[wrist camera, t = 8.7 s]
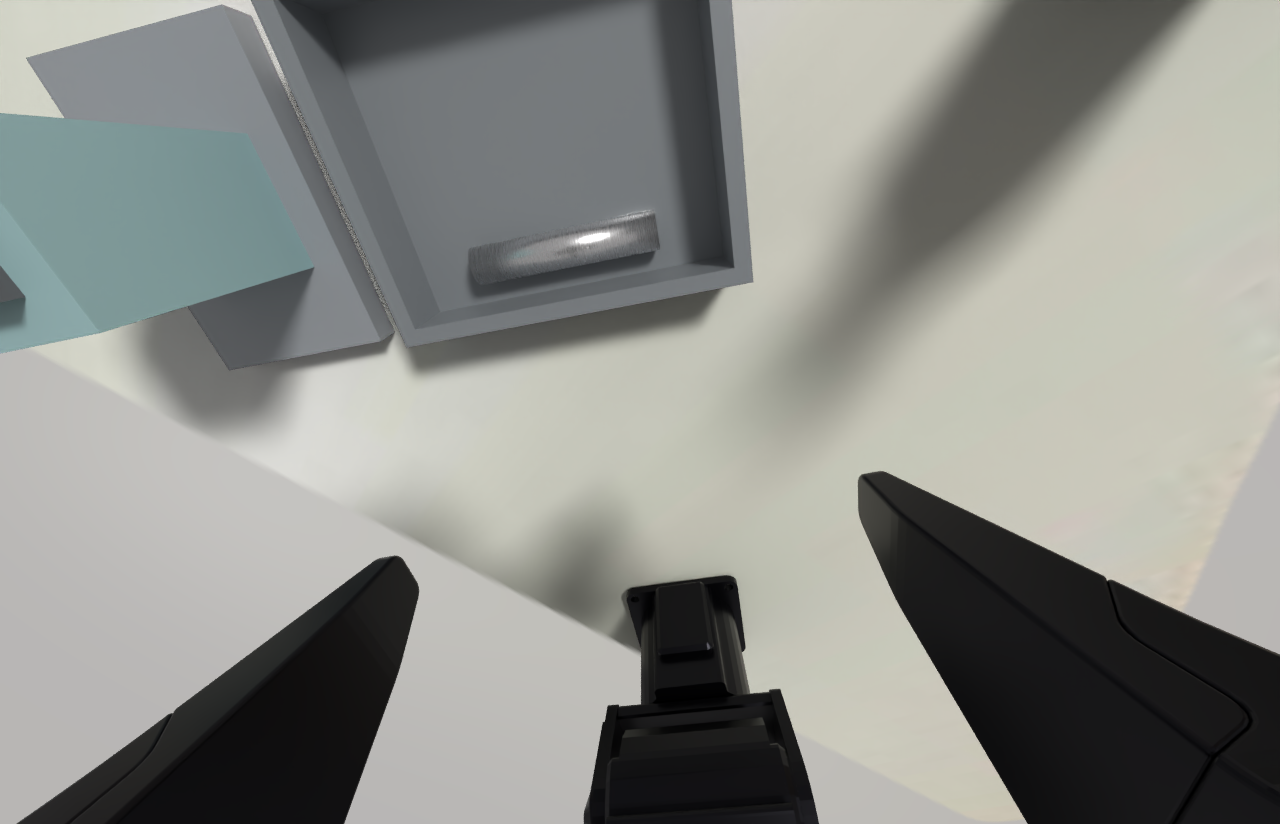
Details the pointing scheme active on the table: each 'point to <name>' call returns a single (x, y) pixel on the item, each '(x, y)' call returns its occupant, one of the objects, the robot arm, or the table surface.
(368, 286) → the lid panel
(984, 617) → the robot arm
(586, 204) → the case
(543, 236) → the rod
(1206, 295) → the table surface
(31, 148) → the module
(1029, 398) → the table surface
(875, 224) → the table surface
